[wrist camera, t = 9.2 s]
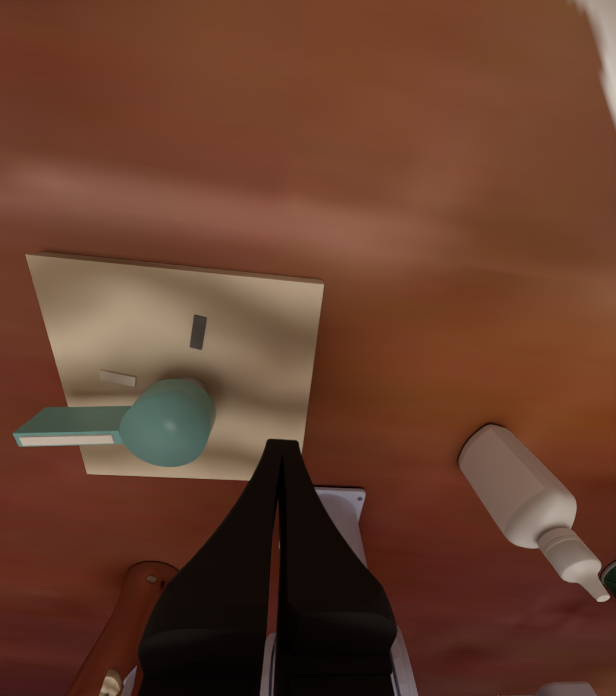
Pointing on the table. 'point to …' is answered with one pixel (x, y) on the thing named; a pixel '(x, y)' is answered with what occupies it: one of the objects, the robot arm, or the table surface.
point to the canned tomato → (610, 578)
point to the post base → (183, 350)
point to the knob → (133, 424)
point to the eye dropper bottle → (529, 504)
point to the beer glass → (123, 636)
